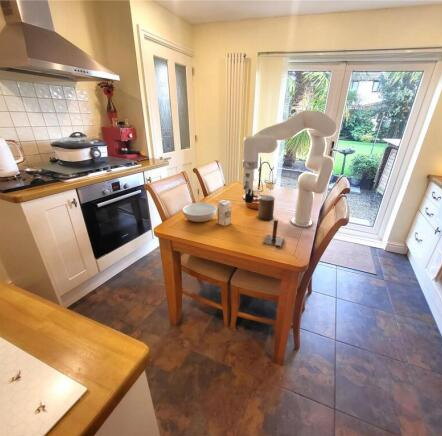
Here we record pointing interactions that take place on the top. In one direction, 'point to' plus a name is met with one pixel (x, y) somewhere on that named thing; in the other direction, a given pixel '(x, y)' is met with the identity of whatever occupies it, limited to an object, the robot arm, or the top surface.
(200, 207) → the serving bowl
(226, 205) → the syrup box
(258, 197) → the ring
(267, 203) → the pillar candle
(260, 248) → the top surface
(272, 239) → the post
